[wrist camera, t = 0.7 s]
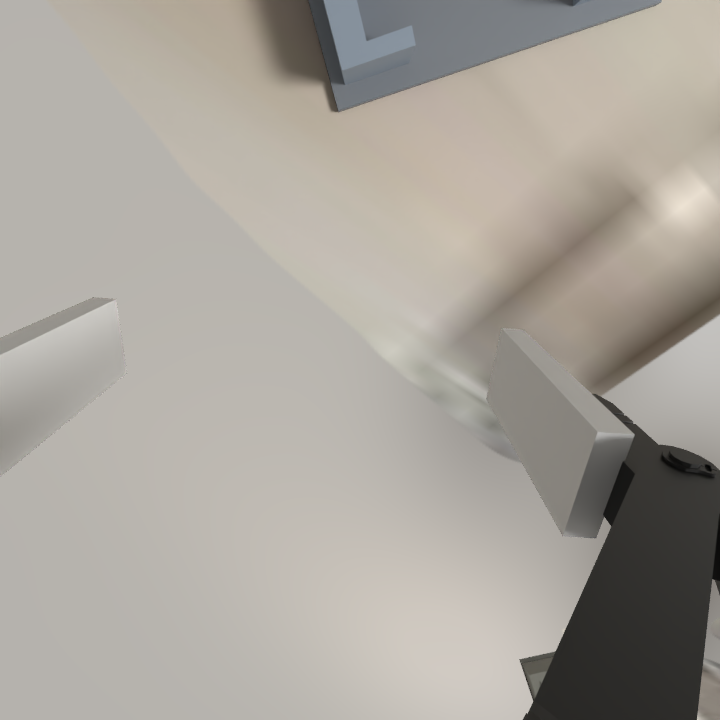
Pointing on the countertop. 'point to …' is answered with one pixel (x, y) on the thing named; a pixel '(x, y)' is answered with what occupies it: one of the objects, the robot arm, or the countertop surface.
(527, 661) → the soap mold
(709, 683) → the countertop surface
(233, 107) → the countertop surface
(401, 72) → the endcap rail
